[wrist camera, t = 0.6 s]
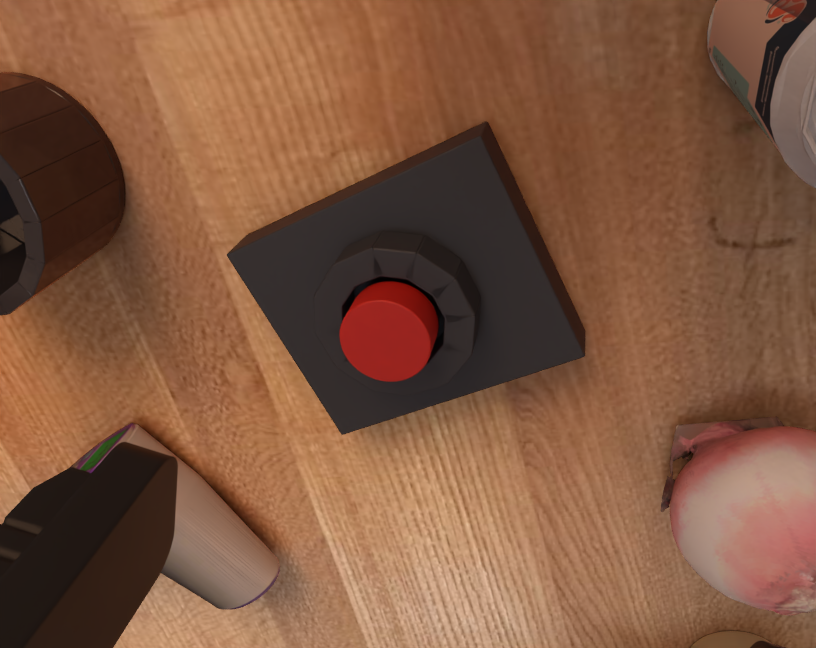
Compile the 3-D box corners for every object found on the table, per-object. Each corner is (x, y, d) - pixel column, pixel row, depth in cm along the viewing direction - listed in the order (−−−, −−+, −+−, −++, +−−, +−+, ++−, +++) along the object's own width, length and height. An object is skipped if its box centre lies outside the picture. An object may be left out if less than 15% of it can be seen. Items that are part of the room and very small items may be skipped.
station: (487, 120, 29) (473, 148, 25) (585, 331, 32) (585, 380, 29) (245, 235, 34) (206, 272, 30) (354, 408, 37) (330, 459, 34)
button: (412, 266, 29) (403, 286, 27) (454, 343, 30) (447, 366, 28) (335, 298, 30) (321, 319, 28) (377, 370, 31) (367, 393, 30)
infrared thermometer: (23, 516, 48) (129, 402, 40) (172, 627, 50) (300, 541, 42) (-29, 572, 44) (76, 459, 36) (134, 690, 46) (267, 608, 38)
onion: (733, 549, 36) (763, 679, 30) (620, 453, 35) (627, 569, 29) (887, 463, 32) (957, 593, 26) (766, 352, 31) (810, 461, 25)
